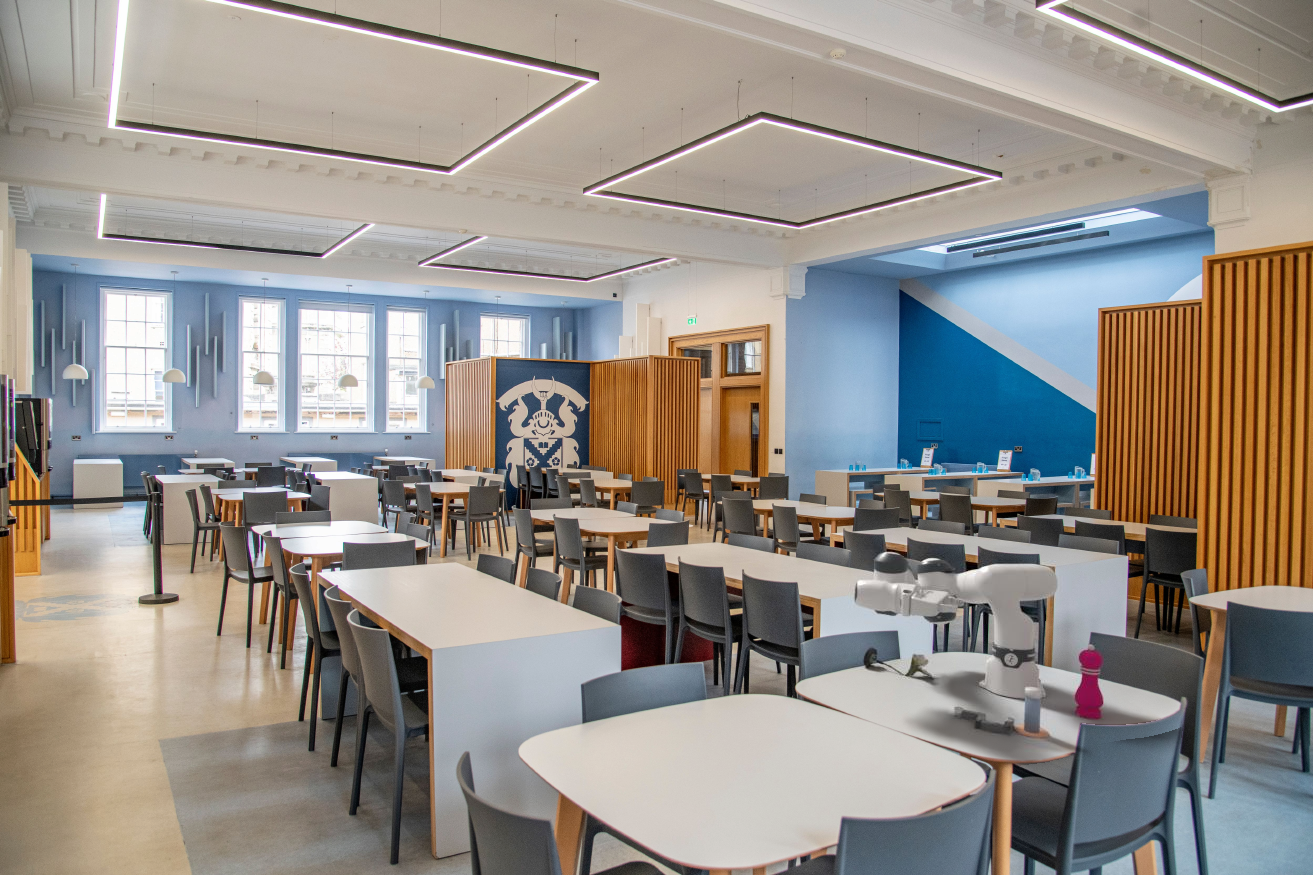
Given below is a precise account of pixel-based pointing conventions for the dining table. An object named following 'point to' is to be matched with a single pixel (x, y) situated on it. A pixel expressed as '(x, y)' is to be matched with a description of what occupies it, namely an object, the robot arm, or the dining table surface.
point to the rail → (983, 724)
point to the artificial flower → (916, 666)
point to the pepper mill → (1089, 684)
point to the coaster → (1041, 734)
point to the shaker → (1032, 709)
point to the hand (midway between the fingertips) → (960, 606)
